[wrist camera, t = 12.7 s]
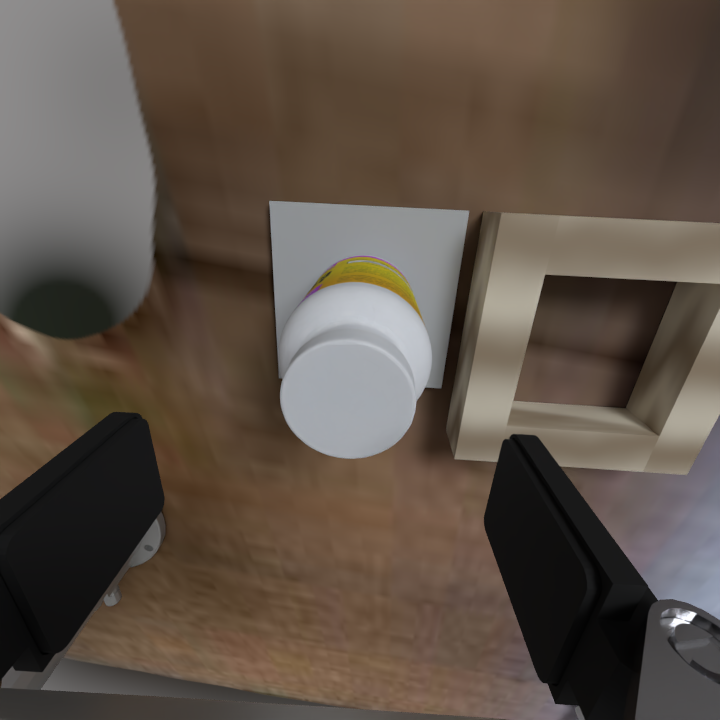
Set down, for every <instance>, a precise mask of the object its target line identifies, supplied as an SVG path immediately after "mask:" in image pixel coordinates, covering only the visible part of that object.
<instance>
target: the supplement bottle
mask: <svg viewBox="0 0 720 720" xmlns="http://www.w3.org/2000/svg"><path fill="white" fill-rule="evenodd" d="M278 362H279V369H280V373H281V376H282V379H283V380H282V383H281V388H280V404H281V409H282V413H283V416H284V418H285V420H286V422H287V424H288V426H289V427H290V429H291V430H292V431H293V433H294V434H295V435H296V436H297V437H298V438H299V439H300V440H301V441H303V442H304V443H305V444H306V445H308V446H309V447H311V448H312V449H314V450H316V451H318V452H321V453H323V454H326V455H329V456H334V457H338V458H346V459H352V458H364V457H368V456H372V455H375V454H378V453H381V452H383V451H385V450H386V449H388V448H390V447H391V446H393V445H394V444H395V443H397V442H398V441H399V440H400V439H401V438H402V437H403V436H404V434H405V433H406V431H407V430H408V428H409V427H410V425H411V423H412V420H413V417H414V414H415V409H416V401H417V400H418V398H419V397H420V396H421V394H422V392H423V391H424V389H425V387H426V384H427V382H428V379H429V376H430V371H431V366H432V350H431V344H430V339H429V336H428V333H427V329H426V327H425V324H424V322H423V319H422V316H421V314H420V310H419V308H418V305H417V302H416V300H415V297H414V294H413V291H412V289H411V286H410V284H409V282H408V280H407V279H406V277H405V276H404V275H403V273H402V272H401V271H400V270H399V269H398V268H397V267H396V266H394V265H393V264H392V263H390V262H388V261H387V260H384V259H382V258H379V257H376V256H371V255H355V256H350V257H346V258H344V259H341V260H339V261H337V262H336V263H334V264H333V265H331V266H330V267H329V268H328V269H327V270H326V271H325V272H324V273H323V274H322V275H321V277H320V278H319V279H318V280H317V282H316V283H315V284H314V286H313V287H312V288H311V290H310V291H309V292H308V293H307V295H306V296H305V298H304V299H303V300H302V301H301V303H300V304H299V305H298V307H297V308H296V309H295V310H294V312H293V313H292V314H291V316H290V317H289V319H288V321H287V322H286V324H285V327H284V329H283V332H282V334H281V337H280V342H279V348H278Z"/></svg>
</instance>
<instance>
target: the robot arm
mask: <svg viewBox="0 0 720 720" xmlns="http://www.w3.org/2000/svg"><path fill="white" fill-rule="evenodd" d="M163 505H164V493H163V489H162V484H161V480H160V475H159V471H158V466H157V462H156V457H155V453H154V448H153V444H152V439H151V434H150V430H149V425H148V422H147V421H146V420H145V419H142V417H141V415H140V414H138V413H125V412H113V413H111V414H109V415H108V416H107V417H105V418H104V419H103V420H102V421H100V422H99V423H98V424H96V425H95V426H94V427H93V428H91V429H90V430H89V431H87V432H86V433H85V434H84V435H82V436H81V437H80V438H79V439H77V440H76V441H75V442H73V443H72V444H71V445H70V446H68V447H67V448H66V449H64V450H63V451H62V452H61V453H59V454H58V455H57V456H55V457H54V458H53V459H52V460H50V461H49V462H48V463H46V464H45V465H44V466H43V467H41V468H40V469H39V470H37V471H36V472H35V473H34V474H32V475H31V476H30V477H28V478H27V479H26V480H25V481H23V482H22V483H21V484H19V485H18V486H17V487H16V488H14V489H13V490H12V491H10V492H9V493H8V494H7V495H5V496H4V497H3V498H1V499H0V720H505V719H494V718H481V717H467V716H452V715H437V714H422V713H408V712H393V711H378V710H363V709H349V708H334V707H318V706H302V705H286V704H270V703H254V702H237V701H221V700H205V699H189V698H172V697H156V696H138V695H120V694H102V693H84V692H66V691H48V690H40V689H41V688H42V687H43V685H44V684H45V682H46V681H47V679H48V678H49V677H50V675H51V674H52V672H53V671H54V669H55V668H56V666H57V665H58V664H59V662H60V661H61V659H62V658H63V656H64V655H65V654H66V652H67V651H68V649H69V648H70V646H71V645H72V643H73V642H74V641H75V639H76V638H77V636H78V635H79V633H80V632H81V631H82V629H83V628H84V626H85V625H86V623H87V622H88V621H89V619H90V618H91V616H92V615H93V613H94V612H95V611H96V610H97V609H98V608H99V607H100V606H101V605H102V602H103V599H104V602H105V604H106V605H107V606H113V605H115V604H117V603H118V602H119V601H120V600H121V597H122V594H121V591H120V589H119V586H118V583H119V582H120V580H121V579H122V577H123V576H124V574H125V573H126V572H127V570H128V569H129V567H134V566H137V565H140V564H142V563H144V562H146V561H147V560H149V559H151V558H152V556H153V555H154V554H155V553H156V552H157V550H158V549H159V547H160V545H161V544H162V542H163V540H164V537H165V528H166V525H165V521H164V517H163V514H162V512H161V511H162V508H163ZM484 526H485V530H486V533H487V536H488V539H489V542H490V545H491V547H492V550H493V553H494V556H495V559H496V561H497V564H498V567H499V570H500V573H501V575H502V578H503V581H504V584H505V587H506V589H507V592H508V595H509V598H510V600H511V603H512V606H513V609H514V612H515V614H516V617H517V620H518V623H519V626H520V628H521V631H522V634H523V637H524V640H525V642H526V645H527V648H528V651H529V654H530V656H531V659H532V662H533V665H534V668H535V670H536V673H537V675H538V677H539V679H540V680H541V681H542V682H543V683H548V686H549V688H550V691H551V694H552V696H553V699H554V702H555V704H565V705H579V707H580V709H581V712H582V714H583V716H584V719H585V720H720V620H718V619H717V618H715V617H714V616H712V615H710V614H709V613H707V612H706V611H704V610H702V609H700V608H697V607H695V606H693V605H691V604H688V603H685V602H681V601H677V600H673V599H666V600H659V601H658V600H657V598H656V597H655V596H654V594H653V593H652V592H651V590H650V589H649V588H648V585H647V584H646V582H645V581H644V580H643V578H642V577H641V576H640V574H639V573H638V572H637V570H636V569H635V567H634V566H633V565H632V563H631V562H630V561H629V559H628V558H627V557H626V555H625V554H624V553H623V551H622V550H621V549H620V547H619V546H618V544H617V543H616V542H615V540H614V539H613V538H612V536H611V535H610V534H609V532H608V531H607V530H606V528H605V527H604V526H603V524H602V523H601V521H600V520H599V519H598V517H597V516H596V515H595V513H594V512H593V511H592V509H591V508H590V507H589V505H588V504H587V503H586V501H585V500H584V498H583V497H582V496H581V494H580V493H579V492H578V490H577V489H576V488H575V486H574V485H573V484H572V482H571V481H570V479H569V478H568V477H567V475H566V474H565V473H564V471H563V470H562V469H561V467H560V466H559V465H558V463H557V462H556V461H555V459H554V458H553V456H552V455H551V454H550V452H549V451H548V450H547V448H546V447H545V446H544V444H543V443H542V442H541V440H540V439H539V438H538V437H537V436H536V435H525V434H512V435H511V436H510V437H509V439H504V440H503V442H502V446H501V450H500V454H499V458H498V462H497V466H496V470H495V474H494V478H493V482H492V487H491V491H490V495H489V499H488V503H487V507H486V511H485V515H484Z"/></svg>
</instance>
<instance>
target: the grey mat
mask: <svg viewBox="0 0 720 720" xmlns="http://www.w3.org/2000/svg"><path fill="white" fill-rule="evenodd" d="M269 203H270V221H271V240H272V259H273V277H274V296H275V314H276V333H277V352H278V348H279V342H280V337H281V334H282V332H283V329H284V327H285V324H286V322H287V321H288V319H289V317H290V316H291V314H292V313H293V312H294V310H295V309H296V308H297V307H298V305H299V304H300V303H301V301H302V300H303V299H304V298H305V296H306V295H307V293H308V292H309V291H310V290H311V288H312V287H313V286H314V284H315V283H316V282H317V280H318V279H319V278H320V277H321V275H322V274H323V273H324V272H325V271H326V270H327V269H328V268H329V267H330V266H331V265H333V264H334V263H336V262H337V261H339V260H341V259H344V258H346V257H350V256H355V255H371V256H376V257H379V258H382V259H384V260H387V261H388V262H390V263H392V264H393V265H394V266H396V267H397V268H398V269H399V270H400V271H401V272H402V273H403V275H404V276H405V277H406V279H407V280H408V282H409V284H410V286H411V289H412V291H413V294H414V297H415V300H416V302H417V305H418V308H419V310H420V314H421V316H422V319H423V322H424V324H425V327H426V329H427V333H428V336H429V339H430V344H431V350H432V366H431V371H430V376H429V379H428V382H427V384H426V387H427V388H441V387H442V381H443V375H444V368H445V362H446V356H447V349H448V343H449V336H450V330H451V324H452V317H453V311H454V305H455V298H456V292H457V286H458V279H459V273H460V267H461V260H462V254H463V247H464V241H465V235H466V228H467V222H468V216H469V211H462V210H442V209H422V208H402V207H382V206H362V205H341V204H321V203H301V202H281V201H269ZM278 370H279V378H282V376H281V373H280V369H279V362H278Z"/></svg>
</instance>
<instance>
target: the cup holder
mask: <svg viewBox="0 0 720 720" xmlns="http://www.w3.org/2000/svg"><path fill="white" fill-rule="evenodd" d="M545 274H546V275H564V276H583V277H601V278H620V279H638V280H657V281H675V282H677V284H676V286H675V289H674V291H673V294H672V296H671V298H670V301H669V303H668V306H667V308H666V311H665V313H664V316H663V318H662V320H661V323H660V325H659V328H658V330H657V333H656V335H655V338H654V340H653V343H652V345H651V347H650V350H649V352H648V355H647V357H646V360H645V362H644V365H643V367H642V369H641V372H640V374H639V377H638V379H637V382H636V384H635V387H634V389H633V391H632V394H631V396H630V399H629V401H628V404H627V406H626V408H616V407H600V406H585V405H569V404H553V403H537V402H521V401H513V399H514V395H515V391H516V387H517V383H518V379H519V375H520V371H521V367H522V363H523V360H524V356H525V352H526V348H527V344H528V340H529V336H530V332H531V328H532V324H533V320H534V316H535V313H536V309H537V305H538V301H539V297H540V293H541V289H542V285H543V281H544V277H545ZM719 414H720V223H704V222H684V221H664V220H644V219H624V218H603V217H583V216H563V215H543V214H523V213H503V212H483V217H482V223H481V229H480V234H479V240H478V246H477V252H476V258H475V263H474V269H473V275H472V281H471V287H470V292H469V298H468V304H467V310H466V316H465V321H464V327H463V333H462V339H461V345H460V350H459V356H458V362H457V368H456V374H455V379H454V385H453V391H452V397H451V403H450V408H449V414H448V420H447V426H446V432H447V436H448V439H449V443H450V446H451V449H452V453H453V456H454V459H461V460H476V461H490V462H498V458H499V454H500V450H501V446H502V442H503V440H504V439H509V437H510V436H511V435H512V434H525V435H536V436H537V437H538V438H539V439H540V440H541V442H542V443H543V444H544V446H545V447H546V448H547V450H548V451H549V452H550V454H551V455H552V456H553V458H554V459H555V461H556V462H557V463H558V465H559V466H564V467H579V468H593V469H608V470H623V471H637V472H652V473H667V474H681V475H687V474H688V472H689V470H690V468H691V466H692V465H693V463H694V461H695V459H696V457H697V455H698V453H699V452H700V450H701V448H702V446H703V444H704V442H705V440H706V439H707V437H708V435H709V433H710V431H711V429H712V427H713V426H714V424H715V422H716V420H717V418H718V416H719Z"/></svg>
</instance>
